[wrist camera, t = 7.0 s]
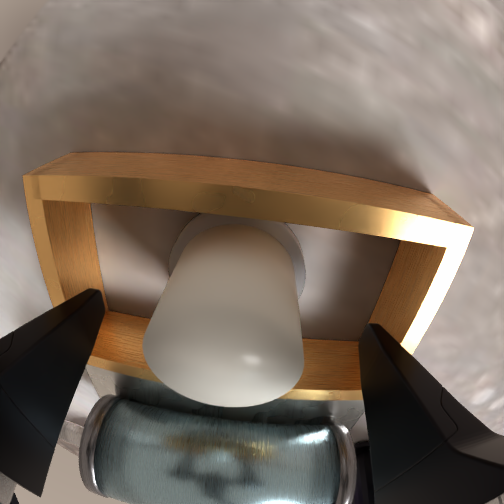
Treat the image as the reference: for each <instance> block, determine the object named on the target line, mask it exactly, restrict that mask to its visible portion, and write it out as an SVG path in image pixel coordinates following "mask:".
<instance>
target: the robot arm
mask: <svg viewBox="0 0 504 504" xmlns="http://www.w3.org/2000/svg"><path fill="white" fill-rule="evenodd" d="M104 315H105V305H104V301H103V297H102V293H101V291H100V290H99V289H94V288H88V289H87V290H85V291H83V292H81V293H79V294H77V295H76V296H74V297H72V298H70V299H68V300H67V301H65V302H63V303H61V304H59V305H58V306H56V307H54V308H52V309H51V310H49V311H47V312H45V313H43V314H42V315H40V316H38V317H37V318H35V319H33V320H31V321H30V322H28V323H26V324H24V325H23V326H21V327H19V328H18V329H16V330H15V331H12V332H11V333H9V334H8V335H6V336H4V337H2V338H1V339H0V504H19V502H18V500H17V498H16V495H15V493H14V490H15V487H16V484H18V485H20V486H22V487H23V488H25V489H26V490H28V491H30V492H32V493H33V494H35V495H37V496H39V497H41V495H42V492H43V488H44V484H45V480H46V477H47V473H48V470H49V466H50V463H51V460H52V456H53V453H54V450H55V446H56V444H57V440H58V438H59V435H60V432H61V429H62V426H63V423H64V420H65V418H66V415H67V412H68V409H69V407H70V404H71V401H72V399H73V396H74V394H75V391H76V389H77V386H78V384H79V381H80V379H81V376H82V374H83V372H84V369H85V367H86V365H87V362H88V360H89V358H90V355H91V353H92V351H93V348H94V345H95V342H96V339H97V336H98V333H99V330H100V327H101V324H102V321H103V318H104ZM358 350H359V364H360V381H361V389H362V396H363V402H364V408H365V415H366V422H367V429H368V437H369V442H361V443H357V444H355V445H354V448H355V454H356V464H357V477H356V487H355V493H354V497H353V500H352V503H351V504H504V436H503V435H499V434H497V433H495V432H493V431H491V430H490V429H489V428H488V427H486V426H485V425H484V424H483V423H482V422H481V421H480V420H478V419H477V418H476V417H475V416H474V415H473V414H472V413H470V412H469V411H468V410H467V409H466V408H465V407H464V406H463V405H461V404H460V403H459V402H458V401H457V400H456V399H455V398H454V397H453V396H452V395H451V394H450V393H449V392H448V391H447V390H446V389H445V388H444V387H442V385H441V384H440V383H439V382H438V381H437V380H436V379H435V378H434V377H433V376H432V375H431V374H430V373H429V372H428V371H427V370H426V369H425V368H424V367H423V366H422V365H421V364H420V363H419V362H418V361H417V360H416V359H415V358H414V357H413V356H412V355H411V354H410V353H409V352H408V351H407V350H406V349H405V348H404V347H403V346H402V345H401V344H400V343H399V342H398V341H397V340H396V339H394V338H393V337H392V336H391V335H390V334H389V333H388V332H387V331H386V330H385V329H384V328H383V327H382V326H381V325H380V324H377V323H368V324H367V325H366V326H365V329H364V331H363V333H362V335H361V337H360V340H359V343H358Z"/></svg>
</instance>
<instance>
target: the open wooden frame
mask: <svg viewBox="0 0 504 504" xmlns="http://www.w3.org/2000/svg"><path fill="white" fill-rule="evenodd" d="M23 184H24V191H25V197H26V203H27V209H28V214H29V220H30V225H31V229H32V234H33V238H34V243H35V247H36V251H37V255H38V259H39V262H40V266H41V270H42V273H43V277H44V280H45V283H46V286H47V290H48V293H49V296H50V299H51V302H52V305H53V308H54V307H56V306H58V305H59V304H61V303H63V302H65V301H67V300H68V299H70V298H72V297H74V296H76V295H77V294H79V293H81V292H83V291H85V290H87V289H88V288H94V289H99V290H100V291H101V293H102V297H103V301H104V305H105V315H104V318H103V321H102V324H101V327H100V330H99V333H98V336H97V339H96V342H95V345H94V348H93V351H92V353H91V355H90V358H89V360H88V362H87V365H86V370H87V372H88V374H89V376H90V378H91V381H92V383H93V385H94V387H95V389H96V391H97V393H98V395H99V397H100V399H99V400H98V401H97V402H96V404H95V405H94V407H93V408H92V410H91V412H90V413H89V415H88V418H87V420H86V422H85V425H84V427H83V426H80V425H77V424H75V423H72V422H70V421H67V420H64V423H63V426H62V429H61V432H60V435H59V439H61V440H64V441H66V442H68V443H71V444H73V445H76V446H78V447H79V468H80V474H81V478H82V481H83V483H84V485H85V487H86V488H87V489H88V490H89V491H91V492H93V493H95V494H98V495H101V496H103V497H111V498H114V499H117V500H120V501H123V502H127V503H129V504H351V503H352V500H353V497H354V493H355V487H356V477H357V464H356V454H355V448H354V444H353V440H352V437H351V435H350V433H349V431H350V429H351V428H352V427H353V426H354V424H355V423H356V422H357V421H358V419H359V418H360V417H361V415H362V414H363V413H364V411H365V408H364V402H363V396H362V389H361V381H360V364H359V350H358V343H359V342H357V341H336V340H320V339H306V338H302V342H303V353H304V369H303V373H302V375H301V377H300V379H299V381H298V382H297V383H296V385H295V386H294V387H293V388H292V389H291V390H290V391H288V392H287V393H285V394H284V395H282V396H280V397H279V398H277V399H274V400H272V401H270V402H266V403H263V404H259V405H254V406H247V407H223V406H216V405H210V404H206V403H202V402H199V401H196V400H193V399H190V398H188V397H185V396H183V395H181V394H179V393H177V392H176V391H174V390H172V389H171V388H169V387H168V386H167V385H165V384H164V383H163V382H162V381H161V380H160V379H158V378H157V376H156V375H155V374H154V373H153V372H152V370H151V369H150V368H149V366H148V364H147V362H146V360H145V357H144V354H143V348H142V344H143V338H144V334H145V332H146V329H147V327H148V325H149V322H150V320H151V319H149V318H144V317H139V316H133V315H128V314H123V313H118V312H113V311H109V309H108V305H107V301H106V296H105V291H104V287H103V282H102V277H101V271H100V266H99V260H98V255H97V248H96V242H95V235H94V228H93V220H92V212H91V203H100V204H113V205H125V206H137V207H148V208H159V209H169V210H179V211H189V212H199V213H208V214H217V215H226V216H235V217H244V218H252V219H260V220H268V221H276V222H284V223H292V224H299V225H307V226H314V227H322V228H329V229H336V230H343V231H349V232H356V233H363V234H369V235H376V236H382V237H389V238H395V239H401V241H400V244H399V247H398V250H397V252H396V255H395V258H394V261H393V263H392V266H391V269H390V271H389V274H388V277H387V279H386V282H385V284H384V287H383V289H382V292H381V294H380V297H379V299H378V301H377V304H376V306H375V308H374V311H373V313H372V315H371V317H370V320H369V322H368V323H377V324H380V325H381V326H382V327H383V328H384V329H385V330H386V331H387V332H388V333H389V334H390V335H391V336H392V337H393V338H394V339H396V340H397V341H398V342H399V343H400V344H401V345H402V346H403V347H404V348H405V349H406V350H407V351H408V352H409V353H410V354H412V353H413V351H414V350H415V348H416V346H417V345H418V343H419V341H420V340H421V338H422V336H423V335H424V333H425V331H426V330H427V328H428V326H429V324H430V322H431V321H432V319H433V317H434V315H435V313H436V311H437V310H438V308H439V306H440V304H441V302H442V300H443V298H444V296H445V294H446V292H447V290H448V288H449V286H450V284H451V282H452V280H453V277H454V275H455V273H456V271H457V269H458V266H459V264H460V262H461V259H462V257H463V255H464V252H465V250H466V248H467V245H468V243H469V240H470V237H471V235H472V232H473V230H474V228H473V227H472V226H471V225H470V224H469V223H468V222H467V221H465V220H464V219H463V218H462V217H461V216H459V215H458V214H457V213H456V212H455V211H453V210H452V209H451V208H450V207H448V206H447V205H446V204H445V203H443V202H442V201H441V200H440V199H438V198H437V197H436V196H434V195H433V194H430V193H426V192H422V191H418V190H414V189H410V188H406V187H401V186H397V185H393V184H388V183H384V182H379V181H374V180H369V179H364V178H359V177H354V176H349V175H344V174H338V173H332V172H327V171H321V170H315V169H308V168H302V167H295V166H288V165H281V164H274V163H266V162H258V161H249V160H240V159H230V158H219V157H208V156H195V155H180V154H161V153H133V152H73V153H69V154H67V155H64V156H62V157H60V158H58V159H55V160H53V161H51V162H49V163H47V164H45V165H43V166H41V167H38V168H36V169H34V170H32V171H30V172H28V173H26V174H25V175H23Z"/></svg>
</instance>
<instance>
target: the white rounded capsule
mask: <svg viewBox="0 0 504 504" xmlns="http://www.w3.org/2000/svg"><path fill="white" fill-rule="evenodd" d="M169 277H170V279H169V281H168V283H167V285H166V287H165V289H164V292H163V294H162V296H161V298H160V300H159V302H158V305H157V307H156V309H155V311H154V314H153V316H152V318H151V320H150V322H149V325H148V327H147V329H146V332H145V334H144V338H143V344H142V348H143V354H144V357H145V360H146V362H147V364H148V366H149V368H150V369H151V370H152V372H153V373H154V374H155V375H156V376H157V378H158V379H160V380H161V381H162V382H163V383H164V384H165V385H167V386H168V387H169V388H171V389H172V390H174V391H176V392H177V393H179V394H181V395H183V396H185V397H188V398H190V399H193V400H196V401H199V402H202V403H206V404H210V405H216V406H223V407H247V406H254V405H259V404H263V403H266V402H270V401H272V400H274V399H277V398H279V397H280V396H282V395H284V394H285V393H287V392H288V391H290V390H291V389H292V388H293V387H294V386H295V385H296V383H297V382H298V381H299V379H300V377H301V375H302V373H303V369H304V353H303V342H302V332H301V323H300V313H299V304H298V299H299V297H300V296H301V294H302V291H303V288H304V284H305V279H306V270H305V264H304V258H303V253H302V249H301V246H300V244H299V242H298V240H297V238H296V236H295V235H294V233H293V232H292V230H291V229H290V228H289V227H288V226H287V225H286V224H285V223H284V222H276V221H268V220H260V219H252V218H244V217H235V216H226V215H217V214H208V213H201V214H199V215H198V216H196V217H195V218H193V219H192V220H191V221H190V222H189V223H188V224H187V225H186V226H185V227H184V229H183V230H182V232H181V233H180V235H179V237H178V239H177V240H176V242H175V244H174V246H173V248H172V251H171V253H170V258H169Z"/></svg>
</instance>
